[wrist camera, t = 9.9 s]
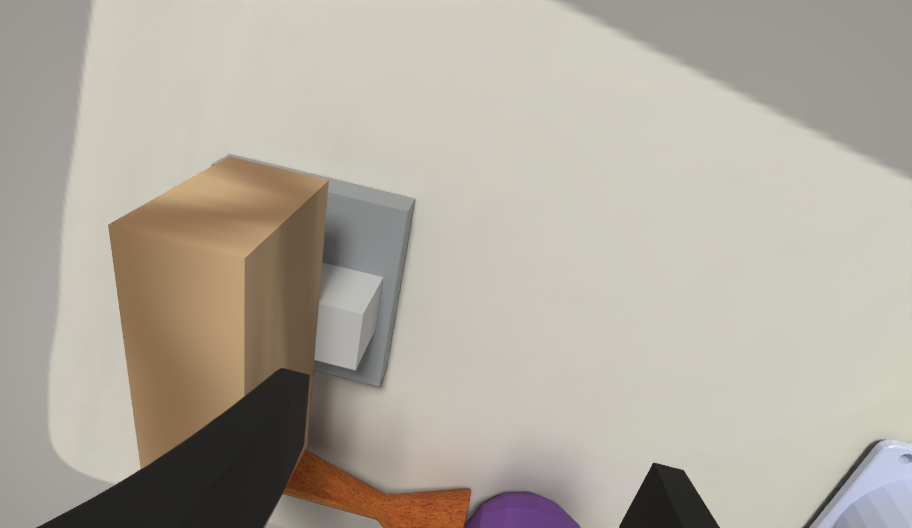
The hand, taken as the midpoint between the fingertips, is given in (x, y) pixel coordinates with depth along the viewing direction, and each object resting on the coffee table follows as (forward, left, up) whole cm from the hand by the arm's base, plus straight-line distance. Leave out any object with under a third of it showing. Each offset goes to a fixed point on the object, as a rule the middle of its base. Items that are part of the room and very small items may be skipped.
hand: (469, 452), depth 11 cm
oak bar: (+7, +3, -6) cm, 10 cm away
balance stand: (+7, +3, -10) cm, 12 cm away
